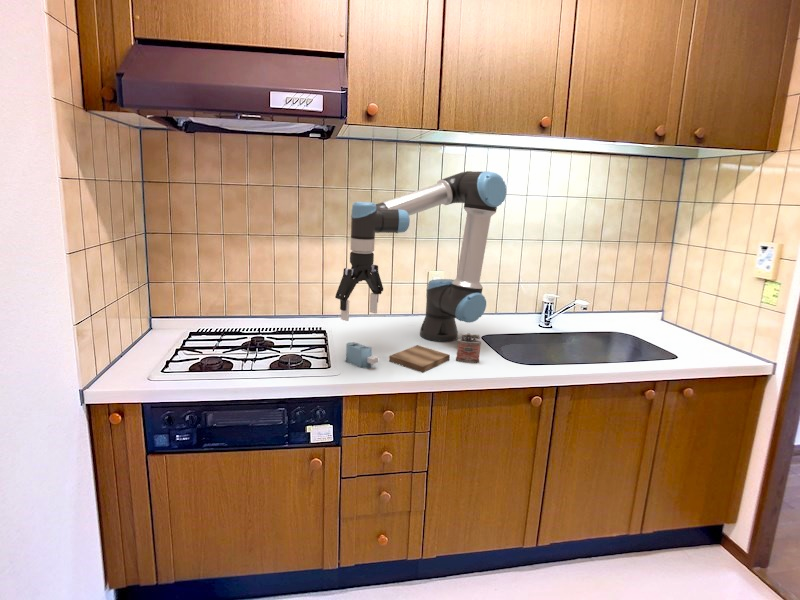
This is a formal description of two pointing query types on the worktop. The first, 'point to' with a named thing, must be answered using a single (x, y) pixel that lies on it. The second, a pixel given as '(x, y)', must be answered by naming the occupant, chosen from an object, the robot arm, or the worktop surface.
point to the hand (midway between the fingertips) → (359, 316)
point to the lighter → (468, 349)
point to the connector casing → (360, 355)
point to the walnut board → (419, 358)
